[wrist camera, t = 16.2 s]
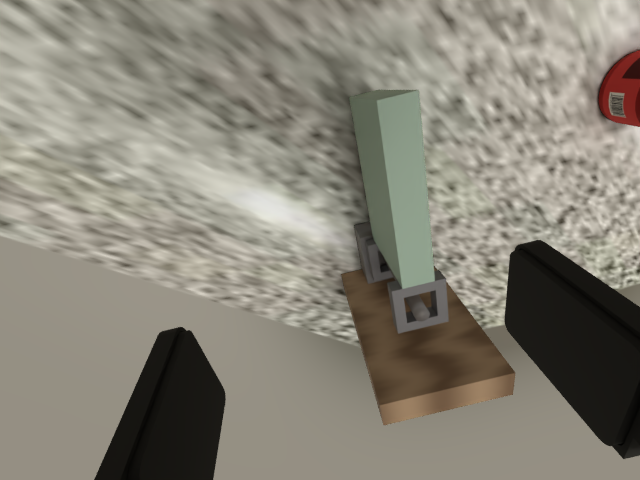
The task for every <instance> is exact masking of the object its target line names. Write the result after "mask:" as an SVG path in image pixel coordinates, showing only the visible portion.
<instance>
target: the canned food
mask: <svg viewBox="0 0 640 480" xmlns="http://www.w3.org/2000/svg"><path fill="white" fill-rule="evenodd" d="M599 106H600V110H601V111H602V113H603V114H604V115H605V116H606V117H607V118H609V119H610V120H612V121H614V122H616V123H622V124H627V125H632V126H638V127H640V50H639V51H636V52H633V53H631V54H629V55H627V56H625V57H624V58H622V59H621V60H620V61H618V62H617V63H616V64H615V65H614V66H613V67H612V69H611V70H610V71H609V72H608V74H607V76H606V77H605V79H604V81H603V83H602V86H601V89H600V92H599Z"/></svg>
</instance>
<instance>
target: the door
mask: <svg viewBox="0 0 640 480" xmlns="http://www.w3.org/2000/svg"><path fill="white" fill-rule="evenodd" d="M349 100H350V106H351V112H352V117H353V123H354V129H355V135H356V141H357V147H358V153H359V159H360V164H361V170H362V176H363V182H364V188H365V194H366V200H367V206H368V212H369V217H370V223H371V229H372V235H373V239H370V240H366V241H365V243H366V249H367V254H368V260H369V265H370V271H371V276H372V278H373V280H374V281H379V280H383V279H387V278H391V277H393V275H392V273H391V272H390V270H389V268H388V266H387V265H383V266H380V264H379V258H378V252H377V251H381V253H382V255H383V256H384V258H385V260H386V262H387V263H388V265H389V267H390V268H391V270H392V272H393V274H394V275H395V277H396V279H397V280H396V281H392V282H388V283H387V286H388V292H389V298H390V304H391V311H392V317H393V323H394V326H395V328H396V330H397V332H398V334H399V333H403V332H407V331H411V330H415V329H420V328H424V327H428V326H432V325H436V324H440V323H444V322H449V318H448V303H447V288H446V278H445V277H444V276H443V274H442V273H441V272H440V271H439V270H437V271H434V263H433V251H432V239H431V228H430V216H429V204H428V192H427V180H426V168H425V156H424V145H423V133H422V121H421V109H420V97H419V90H376V91H372V92H368V93H364V94H360V95H356V96H352V97H349ZM426 292H430V294H431V305H432V306H431V307H427V309H428V311H429V313H430V316H429V318H428V319H427V320H425V321H417V320H416V319H415V317H414V315H413V313H412V311H410V312H406V311H405V303H404V298H405V297H409V296H414V295H418V294H422V293H426Z"/></svg>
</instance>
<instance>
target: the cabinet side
mask: <svg viewBox="0 0 640 480" xmlns="http://www.w3.org/2000/svg"><path fill="white" fill-rule="evenodd" d="M354 228H355V233H356V239H357V244H358V249H359V255H360V260H361V266H362V269H361V270H357V271H352V272H348V273H344V274H341V276H342V280H343V284H344V289H345V293H346V296H347V300H348V303H349V307H350V310H351V314H352V317H353V321H354V324H355V328H356V331H357V334H358V338H359V341H360V345H361V348H362V352H363V355H364V358H365V362H366V366H367V369H368V373H369V376H370V380H371V383H372V387H373V390H374V394H375V397H376V400H377V404H378V408H379V411H380V414H381V418H382V421H383V424H384V425H387V424H391V423H395V422H400V421H404V420H408V419H412V418H416V417H420V416H425V415H429V414H433V413H437V412H441V411H445V410H450V409H454V408H458V407H462V406H467V405H471V404H475V403H479V402H483V401H487V400H492V399H496V398H500V397H504V396H508V395H513V388H514V380H515V372H514V370H513V369H512V368H511V366H510V365H509V364H508V363H507V361H506V360H505V359H504V357H503V356H502V355H501V353H500V352H499V351H498V349H497V348H496V347H495V346H494V344H493V343H492V341H491V340H490V339H489V337H488V336H487V335H486V334H485V332H484V331H483V330H482V328H481V327H480V326H479V324H478V323H477V322H476V320H475V319H474V318H473V316H472V315H471V314H470V312H469V311H468V310H467V308H466V307H465V306H464V304H463V303H462V302H461V301H460V299H459V298H458V297H457V295H456V294H455V293H454V291H453V290H452V289H451V287H450V286H449V285H448V283H447V282H446V288H447V303H448V318H449V322H444V323H440V324H436V325H432V326H428V327H424V328H420V329H415V330H411V331H407V332H403V333H399V334H398V332H397V330H396V328H395V326H394V323H393V317H392V311H391V304H390V298H389V292H388V286H387V283H388V282H392V281H396V280H397V279H396V277H395V275H394V274H393V272H392V270H391V268H390V267H389V265H388V263H387V262H386V260H385V258H384V256H383V255H382V253H381V251H377V252H378V258H379V264H380V266H383V265H387V266H388V268H389V270H390V272H391V273H392V275H393V277H391V278H387V279H383V280H379V281H374V280H373V278H372V276H371V271H370V265H369V260H368V254H367V249H366V243H365V241H366V240H370V239H373V235H372V229H371V223H370V222H366V223H362V224H358V225H354ZM434 271H437V269H436V268H435V266H434ZM404 303H405V311H406V312H410V311H412V313H413V315H414V317H415V319H416V320H417V321H425V320H427V319H428V318H429V316H430V313H429V311H428V309H427V307H431V306H432V305H431V294H430V292H426V293H422V294H418V295H414V296H409V297H405V298H404Z"/></svg>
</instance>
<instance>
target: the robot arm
mask: <svg viewBox="0 0 640 480" xmlns="http://www.w3.org/2000/svg"><path fill="white" fill-rule="evenodd" d="M505 325H506V328H507V330H508V332H509V333H510V334H511V336H512V337H513V338H514V339H515V340H516V341H517V343H518V344H519V345H520V346H521V347H522V349H523V350H524V351H525V352H526V353H527V354H528V356H529V357H530V358H531V359H532V360H533V361H534V363H535V364H536V365H537V366H538V367H539V369H540V370H541V371H542V372H543V373H544V374H545V376H546V377H547V378H548V379H549V380H550V381H551V383H552V384H553V385H554V386H555V387H556V389H557V390H558V391H559V392H560V393H561V394H562V396H563V397H564V398H565V399H566V400H567V402H568V403H569V404H570V405H571V406H572V407H573V409H574V410H575V411H576V412H577V413H578V414H579V416H580V417H581V418H582V419H583V420H584V421H585V423H586V424H587V425H588V426H589V427H590V429H591V430H592V431H593V432H594V433H595V435H596V436H597V437H598V438H599V439H600V440H601V441H602V442H603V443H604V444H606V445H608V446H613V448H614V449H615V450H616V451H617V452H618V453H619V455H620V456H621V457H622V458H623V459H625V458H630V457H634V456H639V455H640V307H639V306H637V305H636V304H634V303H633V302H631V301H630V300H629V299H627V298H626V297H624V296H623V295H621V294H620V293H618V292H617V291H615V290H614V289H612V288H611V287H610V286H608V285H607V284H605V283H604V282H602V281H601V280H599V279H598V278H596V277H595V276H593V275H592V274H590V273H589V272H588V271H586V270H585V269H583V268H582V267H580V266H579V265H577V264H576V263H574V262H573V261H571V260H570V259H568V258H567V257H566V256H564V255H563V254H561V253H560V252H558V251H557V250H555V249H554V248H552V247H551V246H549V245H548V244H546V243H545V242H543V241H541V240H536V241H532V242H528V243H524V244H520V245H518V246H516V248H515V251H513V252H512V253H511V254H510V263H509V274H508V286H507V298H506V309H505ZM224 406H225V391H224V389H223V386H222V385H221V383H220V381H219V379H218V377H217V376H216V374H215V372H214V370H213V369H212V367H211V365H210V363H209V361H208V360H207V358H206V356H205V354H204V353H203V351H202V349H201V347H200V346H199V344H198V342H197V340H196V338H195V337H194V335H193V333H192V332H191V331H190V330H188V331H186V330H185V329H184V328H183V327H178V328H174V329H170V330H166V331H162V332H160V333H159V335H158V336H157V339H156V341H155V343H154V346H153V348H152V350H151V353H150V355H149V357H148V359H147V361H146V364H145V366H144V368H143V370H142V373H141V375H140V377H139V380H138V382H137V384H136V386H135V389H134V391H133V393H132V395H131V398H130V400H129V402H128V405H127V407H126V409H125V411H124V414H123V416H122V418H121V421H120V423H119V425H118V427H117V430H116V432H115V434H114V436H113V438H112V441H111V443H110V446H109V448H108V450H107V452H106V454H105V457H104V459H103V461H102V463H101V466H100V468H99V470H98V472H97V475H96V477H95V479H94V480H213V477H214V470H215V464H216V458H217V451H218V444H219V439H220V432H221V426H222V420H223V413H224Z"/></svg>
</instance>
